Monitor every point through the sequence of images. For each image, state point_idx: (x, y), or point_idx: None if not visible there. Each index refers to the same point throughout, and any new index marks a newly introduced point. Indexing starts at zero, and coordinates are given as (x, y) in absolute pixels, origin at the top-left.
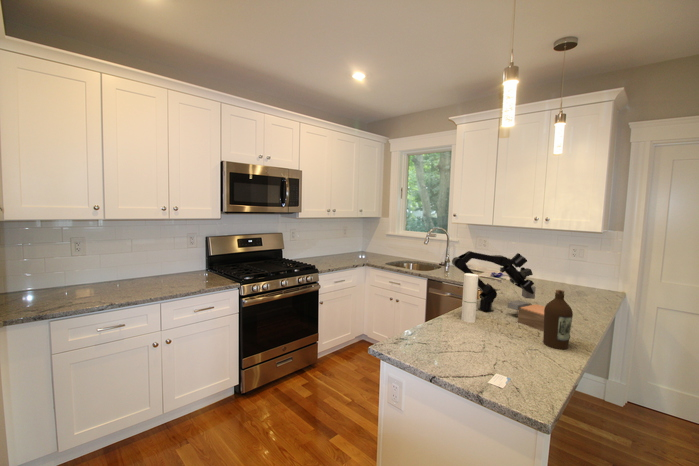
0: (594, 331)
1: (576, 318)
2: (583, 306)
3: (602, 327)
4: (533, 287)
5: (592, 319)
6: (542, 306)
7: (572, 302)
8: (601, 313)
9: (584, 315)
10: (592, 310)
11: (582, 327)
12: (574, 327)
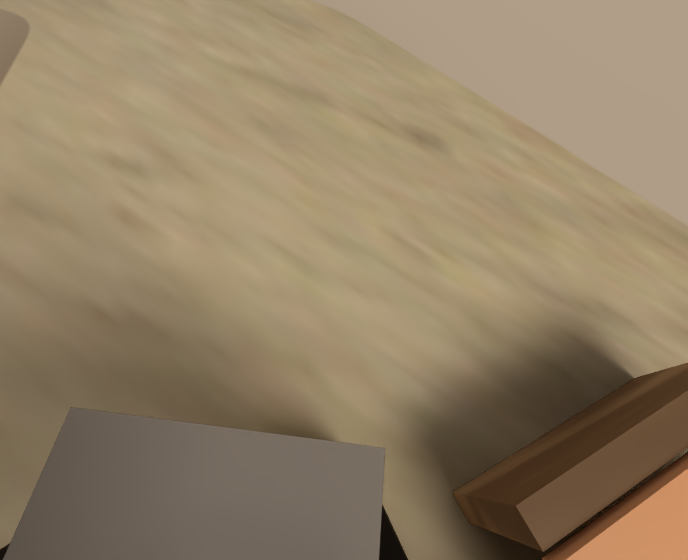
0: (660, 231)
1: (410, 172)
2: (182, 11)
3: (556, 145)
4: (378, 535)
5: (415, 105)
6: (661, 530)
7: (100, 12)
8: (305, 15)
9: (344, 98)
10: (254, 18)
11: (603, 253)
12: (628, 308)
